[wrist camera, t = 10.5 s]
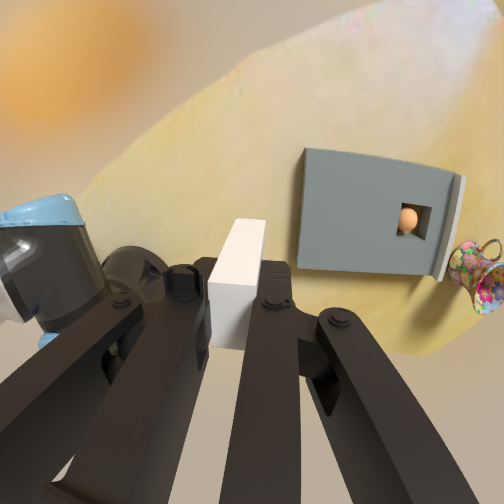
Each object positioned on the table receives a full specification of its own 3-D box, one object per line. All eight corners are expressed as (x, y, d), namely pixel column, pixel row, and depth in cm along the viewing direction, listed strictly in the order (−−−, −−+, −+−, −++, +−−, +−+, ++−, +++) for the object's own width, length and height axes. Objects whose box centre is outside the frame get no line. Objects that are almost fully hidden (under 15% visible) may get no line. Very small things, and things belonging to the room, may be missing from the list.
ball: (388, 227, 40) (405, 235, 36) (392, 204, 38) (410, 211, 35) (402, 225, 41) (419, 233, 38) (406, 203, 39) (423, 210, 36)
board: (295, 259, 44) (297, 274, 40) (305, 147, 37) (308, 149, 33) (429, 267, 42) (441, 281, 38) (449, 170, 36) (466, 176, 31)
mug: (471, 284, 43) (499, 314, 33) (438, 282, 43) (465, 315, 34) (490, 226, 38) (524, 250, 28) (456, 219, 39) (492, 243, 29)
